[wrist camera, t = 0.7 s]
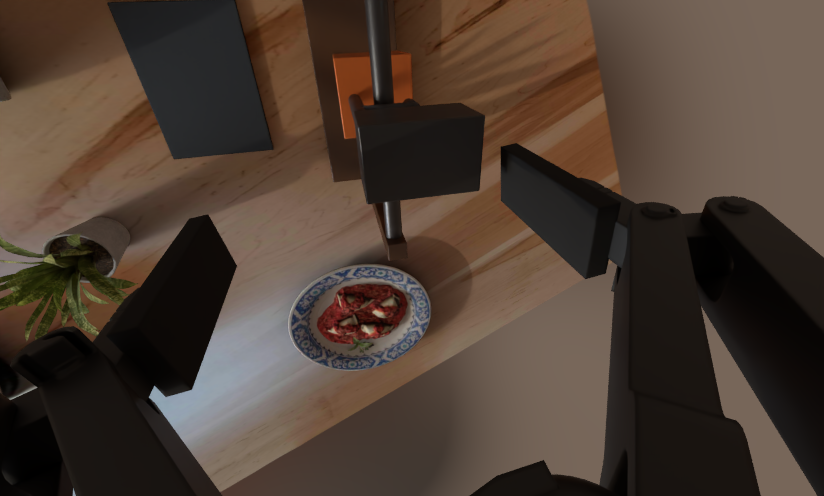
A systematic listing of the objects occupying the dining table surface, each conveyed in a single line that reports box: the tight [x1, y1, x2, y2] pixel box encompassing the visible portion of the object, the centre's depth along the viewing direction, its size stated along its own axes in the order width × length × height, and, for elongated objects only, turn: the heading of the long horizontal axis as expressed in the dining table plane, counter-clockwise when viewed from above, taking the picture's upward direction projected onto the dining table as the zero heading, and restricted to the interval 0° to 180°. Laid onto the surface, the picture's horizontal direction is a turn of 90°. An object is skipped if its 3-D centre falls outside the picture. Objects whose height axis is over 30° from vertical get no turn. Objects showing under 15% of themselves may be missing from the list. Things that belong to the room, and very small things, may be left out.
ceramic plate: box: [288, 264, 431, 371], centre depth 62 cm, size 26×26×3 cm
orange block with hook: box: [333, 51, 485, 204], centre depth 23 cm, size 6×6×22 cm
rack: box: [302, 0, 407, 261], centre depth 32 cm, size 26×10×24 cm, turn 2°
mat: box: [107, 0, 273, 159], centre depth 39 cm, size 16×12×1 cm
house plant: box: [0, 217, 138, 340], centre depth 39 cm, size 14×14×16 cm
